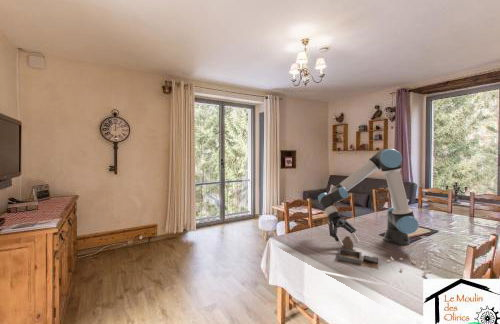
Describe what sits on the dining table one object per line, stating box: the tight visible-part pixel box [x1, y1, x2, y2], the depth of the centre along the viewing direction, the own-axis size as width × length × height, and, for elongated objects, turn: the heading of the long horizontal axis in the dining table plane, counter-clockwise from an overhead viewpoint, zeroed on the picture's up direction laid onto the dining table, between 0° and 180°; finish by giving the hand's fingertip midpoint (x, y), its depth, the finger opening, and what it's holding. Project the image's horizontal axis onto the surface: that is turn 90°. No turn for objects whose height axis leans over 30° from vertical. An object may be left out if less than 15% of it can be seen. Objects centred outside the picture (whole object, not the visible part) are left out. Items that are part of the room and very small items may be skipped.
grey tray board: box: [336, 248, 379, 266], centre depth 134 cm, size 20×12×3 cm, turn 65°
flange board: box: [337, 254, 379, 270], centre depth 134 cm, size 20×14×1 cm
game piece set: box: [386, 256, 432, 277], centre depth 128 cm, size 19×20×4 cm
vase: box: [341, 235, 354, 251], centre depth 149 cm, size 7×7×9 cm
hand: (350, 244), depth 147 cm, fingers open, 13 cm apart
